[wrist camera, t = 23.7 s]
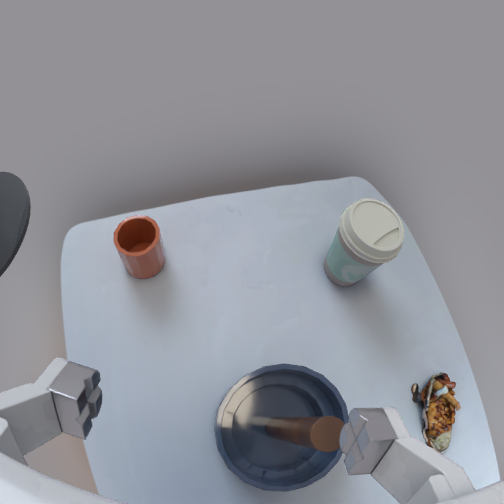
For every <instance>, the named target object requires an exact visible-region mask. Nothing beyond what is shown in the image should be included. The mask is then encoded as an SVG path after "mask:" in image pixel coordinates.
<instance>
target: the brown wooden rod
mask: <svg viewBox="0 0 504 504" xmlns="http://www.w3.org/2000/svg"><path fill="white" fill-rule="evenodd" d="M343 425H345V424H344V423H343V421H342V420H340V419H339V418H337V417H334V416H320V417H274V418H271V419H269V420H268V421H267V422H266V424H265V431H266V433H267V434H268V435H269V436H270V437H273V438H276V439H279V440H282V441H286V442H289V443H292V444H296V445H299V446H303V447H307V448H310V449H314V450H318V451H322V452H332V451H335V450H337V449H338V448H339V447H340V445H339V437H340V432H341V430H342V428H343Z"/></svg>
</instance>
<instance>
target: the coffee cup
mask: <svg viewBox="0 0 504 504" xmlns="http://www.w3.org/2000/svg"><path fill="white" fill-rule="evenodd" d="M403 239H404V228H403V224H402V222H401V220H400V218H399V216H398V215H397V214H396V212H395V211H394V210H393V209H392V208H390V207H389V206H388V205H386V204H385V203H383V202H381V201H378V200H375V199H361V200H359V201H357V202H355V203H353V204H351V205H350V206H349V207H347V209H345V210H344V212H343V213H342V215H341V217H340V224H339V228H338V230H337V233H336V235H335V237H334V240H333V242H332V245H331V247H330V249H329V252H328V254H327V257H326V259H325V262H324V269H325V272H326V274H327V276H328V277H329V279H330V280H331V281H332V282H334V283H335V284H337V285H340V286H351V285H353V284H355V283H356V282H358V281H359V280H361V279H362V278H363V277H365V276H366V275H368V274H369V273H371V272H372V271H373V270H375V269H376V268H378V267H379V266H380V265H382V264H383V263H386V262H389V261H391V260H392V259H394V258H395V257H396V256H397V254H398V253H399V251H400V249H401V247H402V242H403Z"/></svg>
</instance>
